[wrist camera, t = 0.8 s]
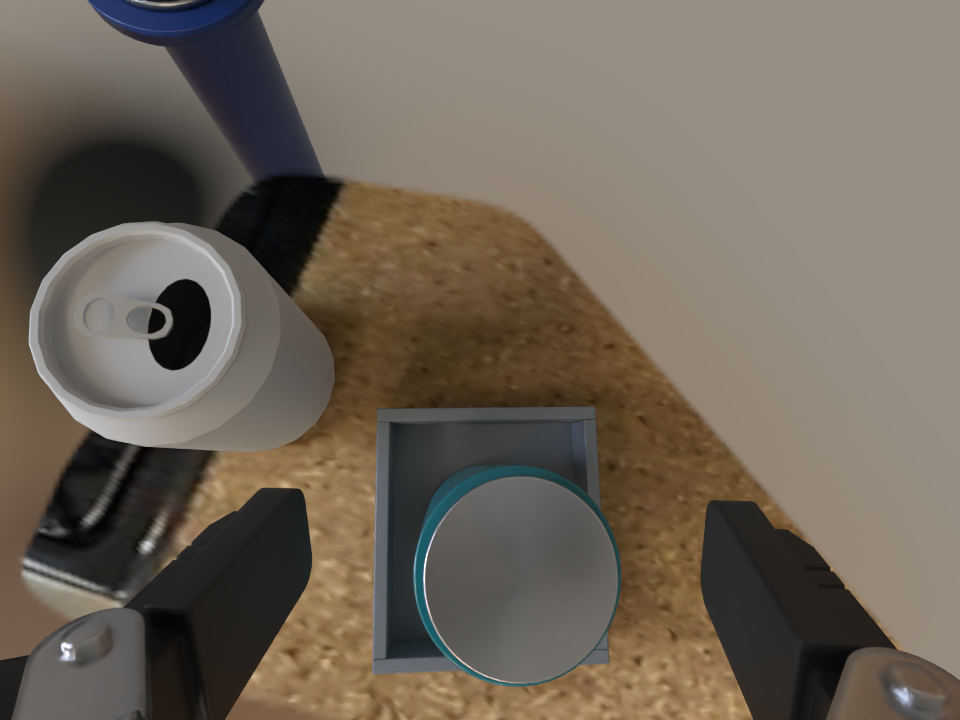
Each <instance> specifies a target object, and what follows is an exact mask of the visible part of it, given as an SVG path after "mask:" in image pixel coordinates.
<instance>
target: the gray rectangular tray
mask: <svg viewBox="0 0 960 720" xmlns="http://www.w3.org/2000/svg"><path fill="white" fill-rule="evenodd" d="M595 419H596V413H595V407H488V408H382V409H377V421H378V422H377V444H376V497H375V551H374V604H373V661H372V673H373V674H394V673H416V672H438V671H460V670H462V669H460V668H459V667H457V666H456V665H454V664H453V663H452V662H451V661H450V660H449V659H448V658H447V657H446V656H444V654H443V653H442V652H441V651H440V650H439V648H438V647H437V646H436V645H435V643H434V642H433V640H432V639H431V637H430V636H429V634H428V632H427V631H426V628H425V626H424V624H423V622H422V620H421V617H420V614H419V611H418V608H417V605H416V599H415V594H414V585H413V567H414V558H415V553H416V548H417V544H418V540H419V536H420V533H421V529H422V526H423V522H424V518H425V515H426V511H427V508H428V505H429V503H430V500H431V498H432V496H433V495H434V493H435V492H436V490H437V489H438V487H439V486H440V485H441V484H442V483H443V482H444V481H445V480H446V479H447V478H448V477H450V476H451V475H453V474H454V473H456V472H458V471H459V470H461V469H464V468H467V467H469V466H474V465H481V464H496V465H525V466H533V467H538V468H543V469H546V470H549V471H552V472H555V473H557V474H559V475H561V476H563V477H565V478H567V479H568V480H570V481H571V482H573V483H574V484H576V485H577V486H579V487H580V488H581V489H582V490H583V491H584V492H586V493H587V494H588V495H589V496H590V497H591V499H592V500H593V501H594V502H595V503H596V504H597V505H598V507H599V508H600V510H601V502H600V484H599V467H598V449H597V431H596V420H595ZM608 648H609V644H608V631H607V632H606V634H605V636H604V638H603V639H602V641H601V642H600V643H599V645H598V646H597V648H596V649H595V650H594V651H593V652H592V653H591V654H590V655H589V656H588V657H587V659H586V660H584V661H583V662H582V663H581V664H579V665H591V664H609V650H608Z"/></svg>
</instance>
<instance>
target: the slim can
mask: <svg viewBox="0 0 960 720" xmlns="http://www.w3.org/2000/svg"><path fill="white" fill-rule="evenodd" d="M413 585H414V594H415V599H416V605H417V608H418V611H419V614H420V617H421V620H422V622H423V624H424V626H425V628H426V631H427V632H428V634H429V636H430V637H431V639H432V640H433V642H434V643H435V645H436V646H437V647H438V648H439V650H440V651H441V652H442V653H443V654H444V656H446V657H447V658H448V659H449V660H450V661H451V662H452V663H453V664H454V665H456V666H457V667H459V668H460V669H462V670H463V671H465V672H466V673H468V674H470V675H472V676H474V677H476V678H478V679H480V680H483V681H486V682H489V683H492V684H497V685H502V686H513V687H524V686H532V685H538V684H541V683H545V682H549V681H551V680H554V679H556V678H558V677H561V676H563V675H565V674H566V673H568V672H569V671H571V670H573V669H574V668H576V667H577V666H578V665H579V664H581V663H582V662H583V661H584V660H586V659H587V657H588V656H589V655H590V654H591V653H592V652H593V651H594V650H595V649H596V648H597V646H598V645H599V643H600V642H601V641H602V639H603V638H604V636H605V634H606V632H607V631H608V629H609V627H610V625H611V622H612V620H613V617H614V615H615V612H616V609H617V605H618V601H619V596H620V588H621V564H620V556H619V551H618V547H617V543H616V540H615V537H614V534H613V532H612V529H611V527H610V525H609V523H608V521H607V519H606V517H605V516H604V514H603V513H602V511H601V510H600V508H599V507H598V505H597V504H596V503H595V502H594V501H593V500H592V499H591V497H590V496H589V495H588V494H587V493H586V492H584V491H583V490H582V489H581V488H580V487H579V486H577V485H576V484H574V483H573V482H571V481H570V480H568V479H567V478H565V477H563V476H561V475H559V474H557V473H555V472H552V471H549V470H546V469H543V468H538V467H533V466H525V465H496V464H481V465H474V466H469V467H467V468H464V469H461V470H459V471H458V472H456V473H454V474H453V475H451V476H450V477H448V478H447V479H446V480H445V481H444V482H443V483H442V484H441V485H440V486H439V487H438V489H437V490H436V492H435V493H434V495H433V496H432V498H431V500H430V503H429V505H428V508H427V511H426V515H425V518H424V522H423V526H422V529H421V533H420V536H419V540H418V544H417V548H416V553H415V558H414V567H413Z"/></svg>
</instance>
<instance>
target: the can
mask: <svg viewBox="0 0 960 720" xmlns="http://www.w3.org/2000/svg"><path fill="white" fill-rule="evenodd" d="M29 346H30V348H31V352H32V355H33V358H34V361H35V364H36V367H37V370H38V373H39V375H40V376H41V377H42V379H43V380H44V381H45V382H46V383H47V385H48V386H49V387H50V388H51V390H52V392H53V393H54V394H55V395H56V397H57V398H58V399H59V400H60V401H61V403H62V404H63V405H64V406H65V408H66V409H67V410H68V411H69V413H70V414H71V415H72V416H73V418H74V419H75V420H77V421H78V422H80V423H82V424H83V425H85V426H87V427H88V428H90V429H92V430H93V431H95V432H97V433H98V434H100V435H102V436H103V437H105V438H107V439H111V440H116V441H121V442H126V443H130V444H135V445H140V446H146V447H164V448H182V449H200V450H218V451H235V452H256V451H265V450H274V449H276V448H278V447H281V446H283V445H285V444H288V443H290V442H292V441H295V440H297V439H298V438H299V437H300V436H302V435H303V434H304V433H305V432H306V431H307V430H309V429H310V428H311V427H312V426H313V425H315V424H316V422H317V421H318V419H319V418H320V416H321V414H322V413H323V411H324V410H325V408H326V407H327V405H328V404H329V400H330V397H331V393H332V389H333V385H334V382H335V374H334V357H333V355H332V352H331V350H330V348H329V345H328V343H327V340H326V338H325V336H324V335H323V334H322V333H321V331H320V330H319V329H318V328H317V327H316V326H315V325H314V323H313V322H312V321H311V320H310V319H309V318H308V317H307V316H306V314H305V313H304V312H303V311H302V310H301V309H300V308H299V307H298V306H297V305H296V303H295V302H294V301H293V300H292V299H291V298H290V297H289V296H288V295H287V294H286V292H285V291H284V290H283V289H282V288H281V287H280V286H279V285H278V284H277V282H276V281H275V280H274V279H273V278H272V277H271V276H270V275H269V274H268V273H267V271H266V270H265V269H264V268H263V267H262V266H261V265H260V264H259V263H258V261H257V260H256V259H255V258H254V257H253V256H252V255H251V254H250V253H249V252H248V250H247V249H246V248H245V247H243V246H241V245H240V244H238V243H236V242H234V241H233V240H231V239H229V238H228V237H226V236H224V235H222V234H221V233H219V232H217V231H215V230H211V229H206V228H202V227H197V226H193V225H189V224H184V223H171V224H165V223H161V222H141V223H126V224H121V225H118V226H115V227H112V228H110V229H107V230H104V231H101V232H98V233H95V234H92V235H90V236H89V237H88V238H86V239H85V240H83V241H82V242H81V243H79V244H78V245H76V246H75V247H73V248H72V249H71V250H69V251H68V252H66V253H65V254H64V255H63V256H62V257H61V258H60V259H59V261H58V262H57V263H56V264H55V266H54V267H53V268H52V269H51V271H50V272H49V273H48V274H47V276H46V277H45V278H44V279H43V281H42V283H41V285H40V288H39V290H38V293H37V295H36V298H35V301H34V303H33V306H32V308H31V311H30V329H29Z"/></svg>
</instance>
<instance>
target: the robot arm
mask: <svg viewBox="0 0 960 720" xmlns="http://www.w3.org/2000/svg"><path fill="white" fill-rule="evenodd" d="M121 1H122V2H124V3H126V4H128V5H131V6H133V7H136V8H139V9H142V10H146V11H152V12H162V13H171V12H181V11H187V10H191V9H194V8H197V7H200V6H203V5H205V4H207V3H209V2H211V1H213V0H121ZM311 567H312V551H311V543H310V536H309V528H308V520H307V512H306V504H305V498H304V495H303V492H302V491H301V490H300V489H295V488H261V489H260V490H258V491H257V492H256V493H255V494H254V495H253V496H252V497H251V498H250V499H249V500H248V501H247V502H246V503H245V504H244V505H243V506H242V507H241V508H240V509H239V510H238V511H233V512H232V513H230V514H228V515H226V516H225V517H223V518H221V519H219V520H218V521H216V522H214V523H212V524H211V525H209V526H208V527H207V528H206V529H205V530H204V531H203V532H202V533H201V534H200V535H199V536H198V537H197V538H196V539H194V540H193V541H192V544H191V546H187V547H186V548H185V549H184V550H183V551H182V552H181V553H180V554H179V555H178V556H177V559H176V560H173V561H172V562H171V563H170V564H168V565H167V566H166V567H165V568H164V569H163V570H162V571H161V572H160V573H159V574H158V575H157V576H156V577H155V578H154V579H153V580H152V581H151V582H150V583H149V584H148V585H147V586H146V587H145V588H144V589H142V590H141V591H140V592H139V593H138V594H137V595H136V596H135V597H134V598H133V599H132V600H131V601H130V602H129V603H128V604H127V605H126V606H125V607H124V608H112V609H105V610H100V611H97V612H93V613H90V614H87V615H85V616H82V617H80V618H77V619H75V620H73V621H71V622H69V623H67V624H66V625H64V626H62V627H60V628H59V629H57V630H56V631H54V632H53V633H51V634H50V635H49V636H47V637H46V638H45V639H44V640H43V641H41V642H40V644H38V645H37V646H36V648H35V649H34V650H33V651H32V653H31V654H30V655H27V656H22V657H16V658H11V659H6V660H0V720H225V718H226V717H227V715H228V713H229V712H230V710H231V709H232V707H233V705H234V704H235V702H236V700H237V699H238V697H239V696H240V694H241V692H242V691H243V689H244V687H245V686H246V684H247V683H248V681H249V679H250V678H251V676H252V674H253V673H254V671H255V669H256V668H257V666H258V665H259V663H260V661H261V660H262V658H263V656H264V655H265V653H266V651H267V650H268V648H269V647H270V645H271V643H272V642H273V640H274V638H275V637H276V635H277V634H278V632H279V630H280V629H281V627H282V625H283V624H284V622H285V620H286V619H287V617H288V616H289V614H290V612H291V611H292V609H293V607H294V606H295V604H296V603H297V601H298V599H299V598H300V596H301V594H302V593H303V591H304V589H305V588H306V586H307V583H308V581H309V577H310V573H311ZM701 588H702V595H703V599H704V603H705V606H706V609H707V611H708V614H709V616H710V618H711V621H712V623H713V625H714V628H715V630H716V633H717V635H718V637H719V640H720V642H721V644H722V647H723V649H724V651H725V654H726V656H727V658H728V661H729V663H730V665H731V668H732V670H733V673H734V675H735V677H736V680H737V682H738V684H739V687H740V689H741V691H742V694H743V696H744V698H745V701H746V703H747V705H748V708H749V710H750V712H751V715H752V717H753V720H960V680H958V679H957V678H956V677H954V676H953V675H951V674H950V673H948V672H947V671H945V670H944V669H942V668H940V667H938V666H937V665H935V664H933V663H931V662H929V661H927V660H925V659H922V658H920V657H918V656H915V655H912V654H910V653H907V652H903V651H899V650H897V648H896V647H895V646H894V645H893V644H892V642H891V641H890V640H889V639H888V637H887V636H886V635H885V634H884V633H883V631H882V630H881V629H880V628H879V626H878V625H877V624H876V623H875V622H874V620H873V619H872V618H871V617H870V616H869V614H868V613H867V612H866V611H865V609H864V608H863V607H862V606H861V605H860V603H859V602H858V601H857V600H856V598H855V597H854V596H853V595H852V594H851V592H850V591H849V590H847V589H845V587H844V584H843V583H842V581H841V580H840V579H839V578H838V577H837V575H836V574H835V573H834V572H831V571H830V567H829V566H828V564H827V563H826V562H825V561H824V559H823V558H822V557H821V556H820V555H819V553H818V552H817V551H816V550H815V548H814V547H812V546H811V545H809V544H808V543H806V542H805V541H803V540H802V539H800V538H799V537H797V536H796V535H795V534H793V533H792V532H790V531H789V530H784V529H775V528H774V527H773V526H772V524H771V523H770V522H769V520H768V519H767V518H766V516H765V515H764V514H763V512H762V511H761V510H760V508H759V507H758V505H757V504H756V503H754V502H752V501H719V500H712V501H710V502H709V504H708V506H707V511H706V520H705V531H704V542H703V553H702V563H701Z"/></svg>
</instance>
